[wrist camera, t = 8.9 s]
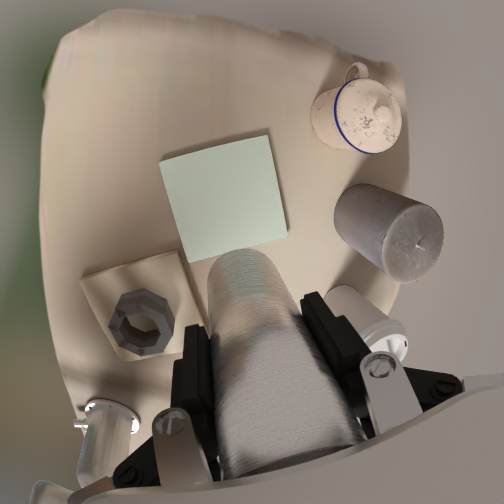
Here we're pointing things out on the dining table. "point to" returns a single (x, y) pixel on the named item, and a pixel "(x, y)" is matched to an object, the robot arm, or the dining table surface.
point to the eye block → (143, 306)
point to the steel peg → (269, 374)
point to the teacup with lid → (357, 114)
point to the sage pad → (225, 198)
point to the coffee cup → (368, 321)
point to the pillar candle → (390, 231)
